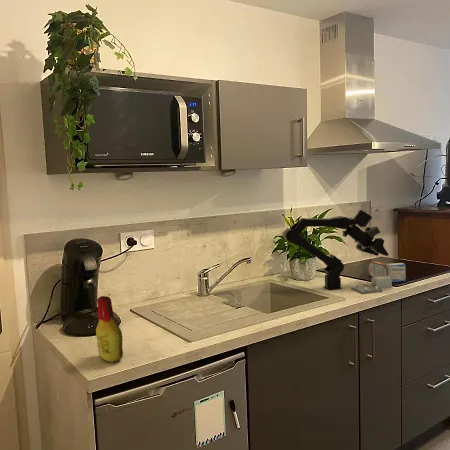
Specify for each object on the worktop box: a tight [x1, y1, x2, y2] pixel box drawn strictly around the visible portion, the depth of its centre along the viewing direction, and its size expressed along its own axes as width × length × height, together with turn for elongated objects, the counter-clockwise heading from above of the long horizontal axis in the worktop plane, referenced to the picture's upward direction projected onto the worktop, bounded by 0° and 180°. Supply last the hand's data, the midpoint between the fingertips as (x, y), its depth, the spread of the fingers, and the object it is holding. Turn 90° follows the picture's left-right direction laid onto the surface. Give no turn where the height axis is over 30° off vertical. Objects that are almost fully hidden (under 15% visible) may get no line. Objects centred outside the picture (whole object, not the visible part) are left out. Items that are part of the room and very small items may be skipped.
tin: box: [367, 260, 388, 278], centre depth 235 cm, size 15×3×8 cm, turn 22°
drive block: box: [371, 276, 393, 290], centre depth 218 cm, size 8×4×5 cm, turn 103°
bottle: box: [95, 295, 124, 363], centre depth 145 cm, size 12×6×20 cm, turn 38°
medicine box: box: [386, 262, 406, 283], centre depth 228 cm, size 8×4×9 cm, turn 99°
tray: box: [350, 282, 383, 295], centre depth 214 cm, size 10×10×2 cm
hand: (383, 255), depth 221 cm, fingers open, 9 cm apart
